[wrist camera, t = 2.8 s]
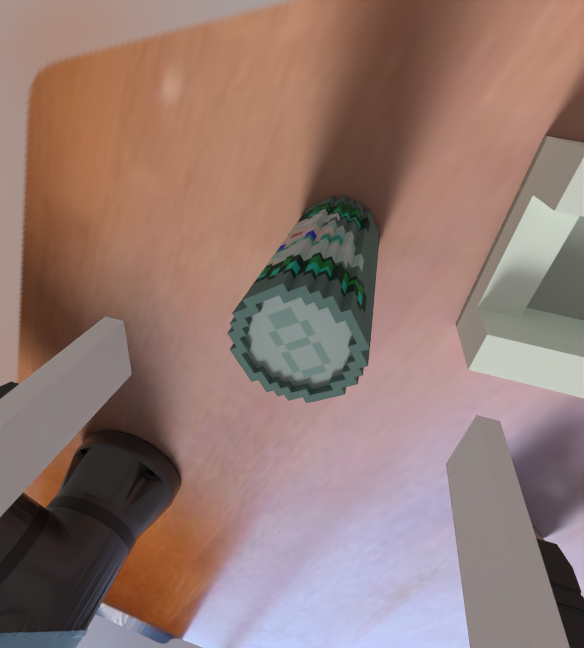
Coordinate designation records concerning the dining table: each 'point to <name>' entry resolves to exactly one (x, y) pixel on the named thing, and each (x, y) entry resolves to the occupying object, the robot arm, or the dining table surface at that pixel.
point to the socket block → (534, 281)
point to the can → (312, 305)
